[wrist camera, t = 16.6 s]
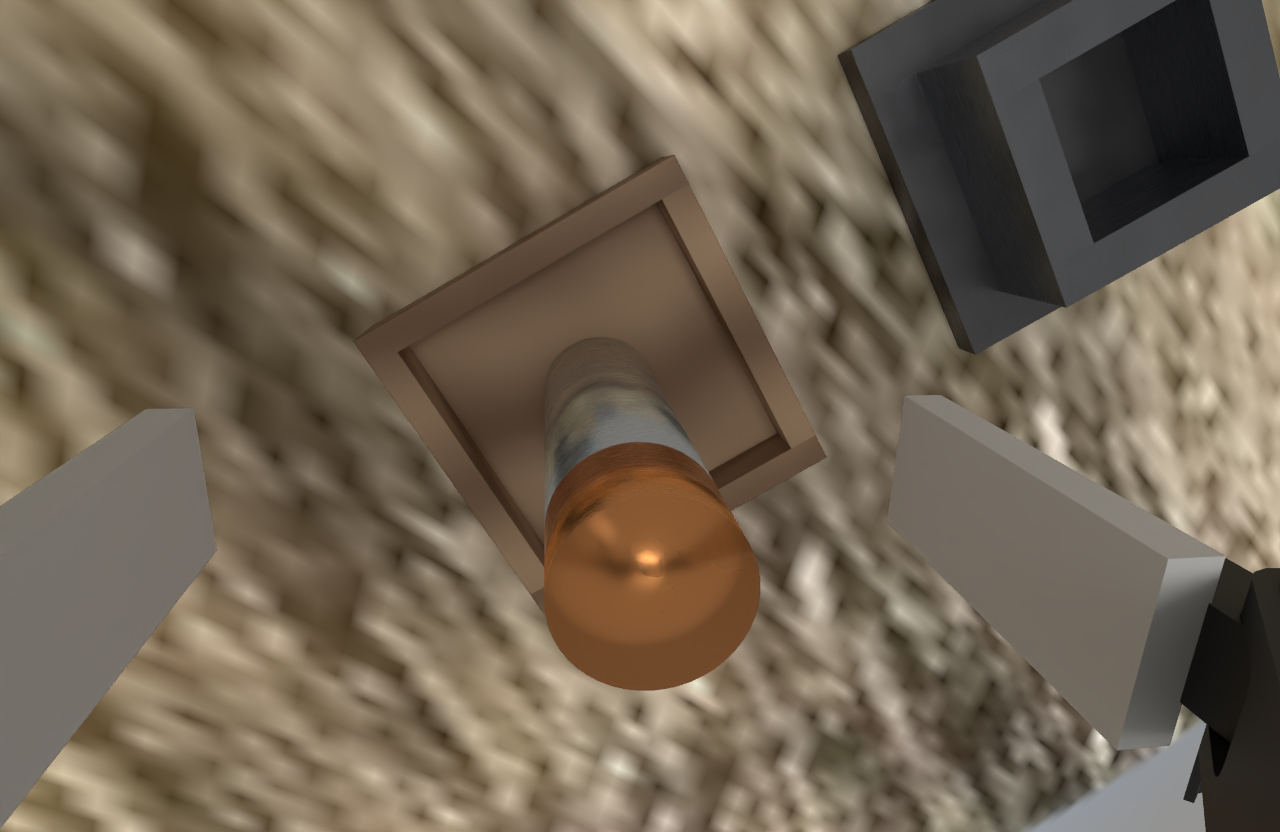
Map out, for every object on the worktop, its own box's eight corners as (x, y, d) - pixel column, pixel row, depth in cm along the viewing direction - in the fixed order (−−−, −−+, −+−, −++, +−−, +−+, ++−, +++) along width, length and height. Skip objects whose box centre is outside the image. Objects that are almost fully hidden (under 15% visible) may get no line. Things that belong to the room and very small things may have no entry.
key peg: (545, 443, 29) (545, 696, 14) (543, 337, 28) (542, 498, 13) (652, 440, 29) (753, 685, 15) (654, 336, 28) (766, 493, 14)
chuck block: (837, 55, 27) (901, 27, 22) (1147, -125, 26) (1280, -193, 22) (959, 348, 31) (1036, 378, 26) (1232, 195, 30) (1362, 197, 25)
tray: (370, 327, 28) (353, 341, 25) (662, 157, 27) (674, 154, 25) (544, 580, 31) (544, 614, 29) (803, 435, 31) (826, 457, 28)
